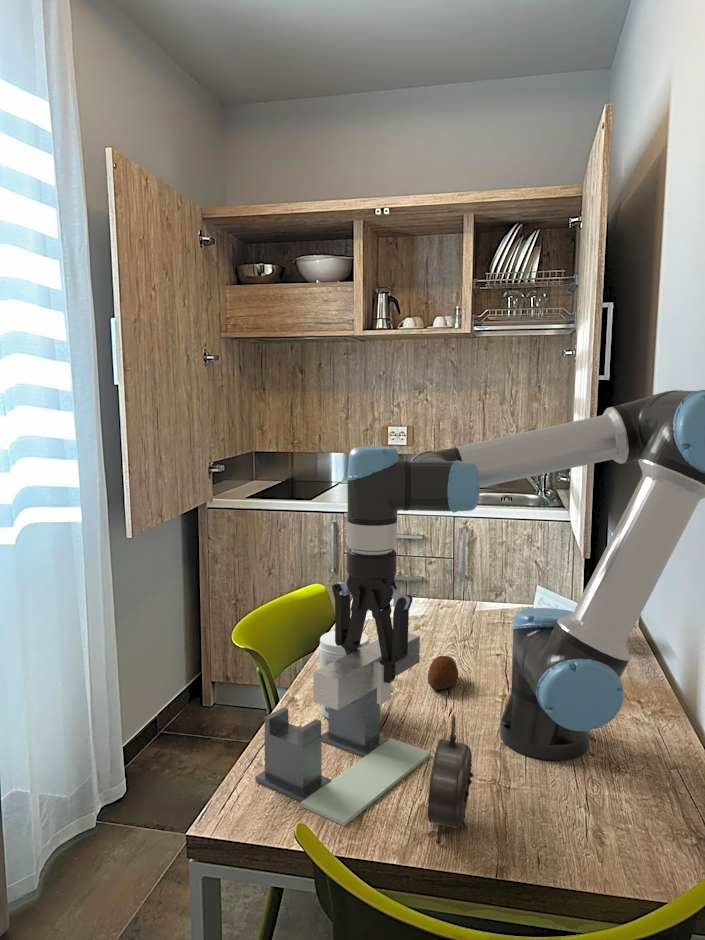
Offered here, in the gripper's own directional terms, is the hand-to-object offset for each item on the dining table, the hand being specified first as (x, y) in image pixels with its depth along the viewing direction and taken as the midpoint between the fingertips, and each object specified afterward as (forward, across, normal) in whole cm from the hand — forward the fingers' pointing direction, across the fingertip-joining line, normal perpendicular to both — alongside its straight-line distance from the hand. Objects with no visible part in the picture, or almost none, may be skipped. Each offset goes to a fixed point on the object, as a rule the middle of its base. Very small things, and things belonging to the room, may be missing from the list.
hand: (369, 696), depth 109 cm
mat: (+14, 0, 0) cm, 14 cm away
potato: (+14, +8, -38) cm, 41 cm away
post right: (+14, +9, -8) cm, 18 cm away
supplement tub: (+14, +17, -16) cm, 27 cm away
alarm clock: (+14, -16, +3) cm, 21 cm away
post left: (+14, +9, +8) cm, 18 cm away
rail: (-3, 0, 0) cm, 3 cm away
